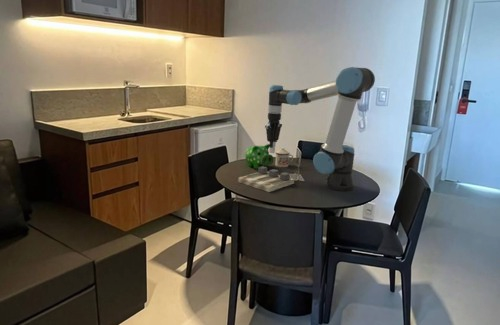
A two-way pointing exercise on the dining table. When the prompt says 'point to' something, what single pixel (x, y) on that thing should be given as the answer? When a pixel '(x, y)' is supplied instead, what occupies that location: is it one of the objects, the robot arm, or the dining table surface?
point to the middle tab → (273, 173)
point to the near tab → (284, 176)
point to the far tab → (262, 170)
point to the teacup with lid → (282, 158)
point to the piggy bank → (258, 156)
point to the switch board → (265, 181)
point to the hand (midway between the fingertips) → (272, 152)
